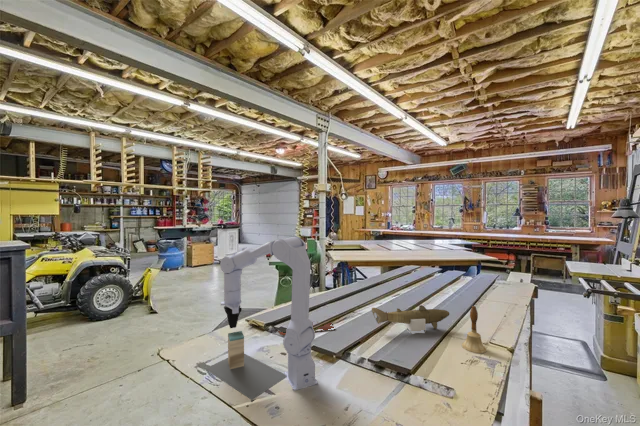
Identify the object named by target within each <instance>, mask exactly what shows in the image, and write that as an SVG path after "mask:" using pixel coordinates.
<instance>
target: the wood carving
mask: <svg viewBox="0 0 640 426" xmlns="http://www.w3.org/2000/svg"><path fill="white" fill-rule="evenodd" d="M418 307H419V308H418V309H413V310H402V309H400V308H396V310H395V311H390V312H389V311H388V312H387V311H383V310H382V309H379V308H376V307H371V313H372V315H373V317H374V319H375V321H376V323H377V324H378V325H379V324H381V323H385V322H391V323H396V324H405V329H406V328H408V329H409V330H411V331H421V330H425V331H426V325H429V324H431V325H432V328H433V330H436V329H437V328H438V323H439V322H441V321H444V319H446V318H447V317H449V316H450V312H449V311H448V310H447V309H446V310H445V309H439V308H437V309H435V308H433V309H432V308H429V309H428V308H426V307H425V306H424V305H422V304H420V305H418ZM375 314H376V317H375Z"/></svg>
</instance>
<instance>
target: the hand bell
mask: <svg viewBox="0 0 640 426" xmlns="http://www.w3.org/2000/svg"><path fill="white" fill-rule="evenodd" d="M478 315H479V314H478V310H477V306H475V305H472V306H471V308H470V312H469V316H470V321H471V330H470V331H468V332H467V334H466V335H467V336H466V339H465V341H464V342H462V344H461V347H462V348H463V349H464V350H465V351H467V352H469V353H473V354H485V353H486V352H487V347H486V346H484V344H483V342H482V336H481V334H480V333H479V332H477V322H478Z"/></svg>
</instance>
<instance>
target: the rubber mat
mask: <svg viewBox="0 0 640 426" xmlns="http://www.w3.org/2000/svg"><path fill="white" fill-rule="evenodd" d="M204 369H205V370H206V371H207V372H209V373H211V375H213V376H215V377H216V378H218V379H220V380H221V381H223V382H224V383H225V384H227V385H229V386H230V387H232V388H233V389H235V390H236V391H238V392H239V393H241V394H242V395H244V396H245V397H246V398H249V400H250V402H252V403H253V402H254V401H255V400H256V398H257V397H258V396H260V395H262V394H264V392H266V391H267V390H269V389H271V388H272V387H273V386H275V385H277V384H279V383H280V382H281V381H283V380H284V379H287V378H286V377H287V376H286V375H285V374H286V373H285V374H284V372H281V371H279V370H277V369H276V368H273V367H272V366H269V365H268V364H266V363H263V362H261V361H260V360H258V359H256V358H254V357H252V356H249V355H248V354H246V353H244V366H242V367H238V368H234V369H230V367H229V363H228V357H227V358H224V359H222V360H220V361H218V362H216V363H214V364H211V365H210V366H208V367H206V368H204Z"/></svg>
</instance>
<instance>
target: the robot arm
mask: <svg viewBox="0 0 640 426" xmlns="http://www.w3.org/2000/svg"><path fill="white" fill-rule="evenodd" d="M305 242H306V241H305ZM305 242H304V240H303V239H302V238H301V237H299V236H297V235H294V236H292V237H287V238H278V239H275V240H271V241H268V242H266V243H264V244H262V245H260V246H258V247H256V248H254V249H253V248H252V247H243V248H241V251H238V252H237V251H235V252H233V253H232V255H229V256H228V255H227V256H223V258H221V259H220V263H219V267H220V269H221V271H222V273H223V291H224V292H223V299H224V300H223V301H220V306H223V309H224V311H225V314H226V316H227V321H228V322H227V323H228V326H229V329H235V328H237V325H238V322H239V321H238V320H239V316H240V315H241V312H242V307H241V305H242V297H241V296H242V291H241V290H242V277H241V276H242V274H243V269H244V268H246V267H250V266H252V265H254V264H255V263H257V260H258V259H259V258H262V257H265V256H267V255H270V256H274V257H275V259H277V260H278V261H280V262H282V263H283V264H285V265H287V266H288V267H289V268H290V269H291V270H292V274H291V275H292V276H291V277H292V280H291V281H292V283H291V310H290V311H291V313H290V320H289V323H288V324H287V325H288V327H287V329H286V335H284V336H283V340H282V341H283V348H284V349H285V351H286V353H287V371H284V372H283V374H285V375H286V376H287V377H286V378H285V379H287V381H288V383H289V384H290V386H291V388H292V390H293V391H298V390H301V389H305V388H308V387H311V386H315V385H319V382H318V380H317V379H316V363H315V361H314V360H313V357H312V343H313V341H314V340H315V337H316V332H314V329H313V322H314V321H312V320H311V319H310V318H309V316H310V315H309V313H310V292H311V291H310V290H311V289H310V288H311V260H310V258H309V256H308V252H307V244H306V243H305Z"/></svg>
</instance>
